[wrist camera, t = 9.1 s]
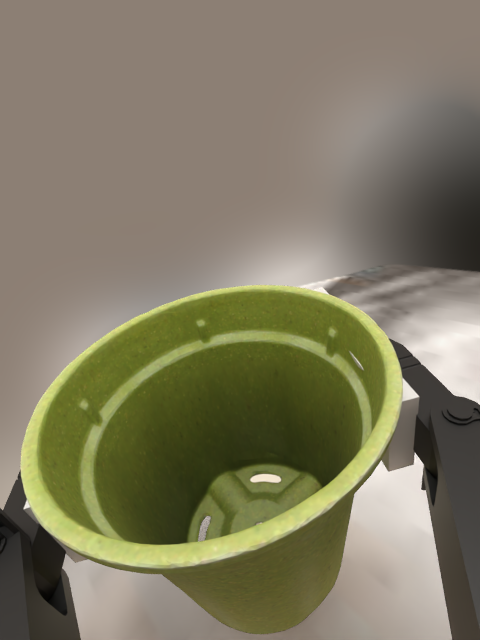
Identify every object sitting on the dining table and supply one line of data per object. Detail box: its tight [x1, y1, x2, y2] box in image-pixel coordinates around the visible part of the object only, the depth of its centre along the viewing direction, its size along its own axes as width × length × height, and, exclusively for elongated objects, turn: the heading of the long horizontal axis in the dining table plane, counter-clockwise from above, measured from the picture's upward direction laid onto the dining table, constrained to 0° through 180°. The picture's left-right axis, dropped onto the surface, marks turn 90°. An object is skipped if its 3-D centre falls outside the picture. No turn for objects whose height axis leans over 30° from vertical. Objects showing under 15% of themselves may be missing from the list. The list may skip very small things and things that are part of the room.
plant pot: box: [21, 285, 403, 634], centre depth 11 cm, size 9×9×9 cm
